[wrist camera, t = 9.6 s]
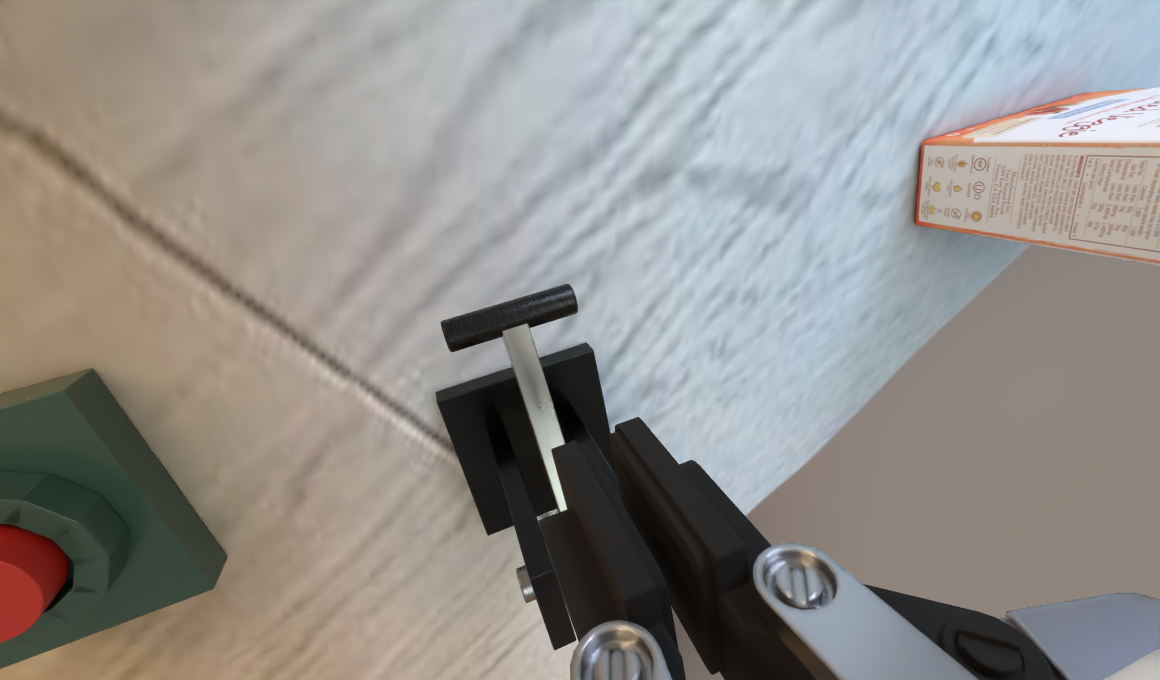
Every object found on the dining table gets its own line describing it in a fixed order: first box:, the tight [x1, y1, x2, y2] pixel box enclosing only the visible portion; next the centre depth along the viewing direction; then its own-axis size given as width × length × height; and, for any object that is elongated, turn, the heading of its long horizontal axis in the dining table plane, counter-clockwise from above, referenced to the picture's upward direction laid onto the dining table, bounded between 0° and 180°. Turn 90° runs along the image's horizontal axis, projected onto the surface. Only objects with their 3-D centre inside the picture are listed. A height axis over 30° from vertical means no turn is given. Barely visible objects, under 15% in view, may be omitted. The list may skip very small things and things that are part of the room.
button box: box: [0, 369, 227, 669], centre depth 22 cm, size 12×10×4 cm
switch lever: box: [441, 284, 578, 513], centre depth 21 cm, size 13×6×2 cm, turn 11°
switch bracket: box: [436, 343, 623, 650], centre depth 25 cm, size 10×9×12 cm
